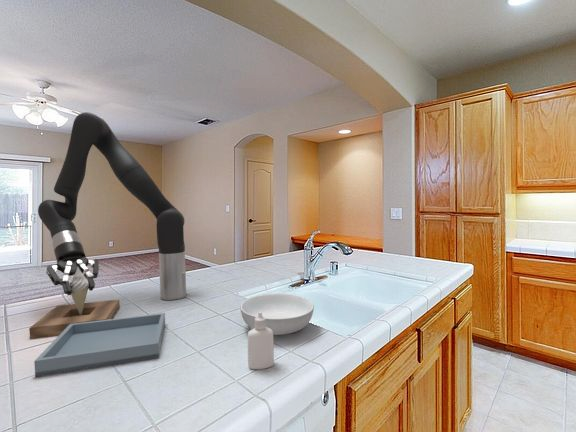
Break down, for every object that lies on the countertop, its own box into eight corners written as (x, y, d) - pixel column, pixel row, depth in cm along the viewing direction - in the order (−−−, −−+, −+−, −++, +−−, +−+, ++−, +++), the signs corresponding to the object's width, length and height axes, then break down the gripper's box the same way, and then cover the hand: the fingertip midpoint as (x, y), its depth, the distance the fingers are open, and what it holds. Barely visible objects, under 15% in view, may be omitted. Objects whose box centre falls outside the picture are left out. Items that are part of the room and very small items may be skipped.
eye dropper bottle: (253, 358, 70) (252, 307, 70) (276, 362, 69) (275, 310, 68) (245, 368, 66) (244, 314, 66) (269, 372, 65) (268, 317, 64)
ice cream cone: (80, 318, 90) (77, 268, 89) (66, 317, 91) (63, 268, 90) (94, 312, 95) (91, 264, 94) (81, 311, 96) (77, 264, 95)
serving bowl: (289, 352, 73) (289, 324, 73) (225, 333, 84) (224, 308, 84) (326, 322, 91) (326, 299, 90) (268, 309, 102) (268, 289, 101)
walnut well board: (119, 308, 104) (119, 299, 104) (105, 329, 87) (105, 319, 87) (57, 314, 99) (57, 305, 99) (30, 338, 82) (29, 327, 81)
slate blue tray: (165, 324, 90) (164, 312, 90) (158, 357, 71) (158, 343, 71) (70, 336, 83) (70, 323, 83) (35, 377, 64) (34, 361, 64)
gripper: (41, 243, 91) (52, 290, 84) (95, 237, 102) (109, 279, 95) (39, 258, 95) (49, 304, 88) (91, 251, 106) (105, 292, 99)
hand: (80, 291), depth 91 cm, fingers closed on ice cream cone, 5 cm apart
